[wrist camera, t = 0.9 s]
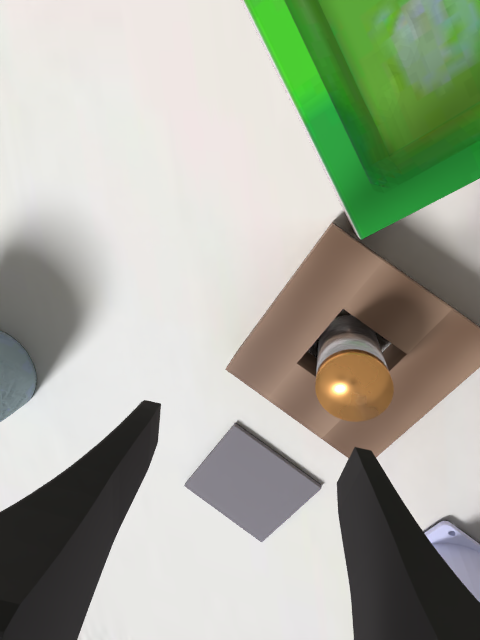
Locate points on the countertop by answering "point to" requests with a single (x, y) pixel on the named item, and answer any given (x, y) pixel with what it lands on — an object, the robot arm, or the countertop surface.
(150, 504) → the countertop surface
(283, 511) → the mat
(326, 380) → the glass jar
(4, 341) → the grey cup
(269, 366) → the housing
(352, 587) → the robot arm
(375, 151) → the tray
